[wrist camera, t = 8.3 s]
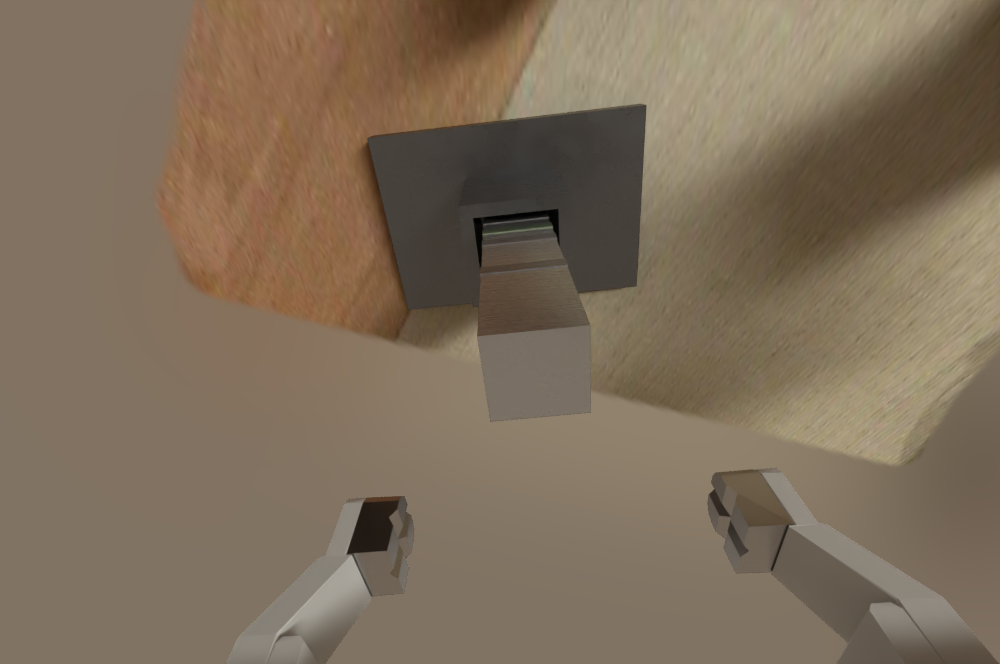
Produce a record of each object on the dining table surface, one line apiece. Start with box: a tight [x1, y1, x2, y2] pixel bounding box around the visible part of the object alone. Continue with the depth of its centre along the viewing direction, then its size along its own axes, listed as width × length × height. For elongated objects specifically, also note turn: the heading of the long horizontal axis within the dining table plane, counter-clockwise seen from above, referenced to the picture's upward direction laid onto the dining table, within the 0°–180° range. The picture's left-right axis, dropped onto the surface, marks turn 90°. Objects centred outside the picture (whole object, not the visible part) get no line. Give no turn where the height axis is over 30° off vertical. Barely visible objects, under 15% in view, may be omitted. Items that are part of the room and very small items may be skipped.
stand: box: [367, 104, 646, 310], centre depth 31 cm, size 20×14×10 cm
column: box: [477, 210, 591, 422], centre depth 23 cm, size 4×4×16 cm
